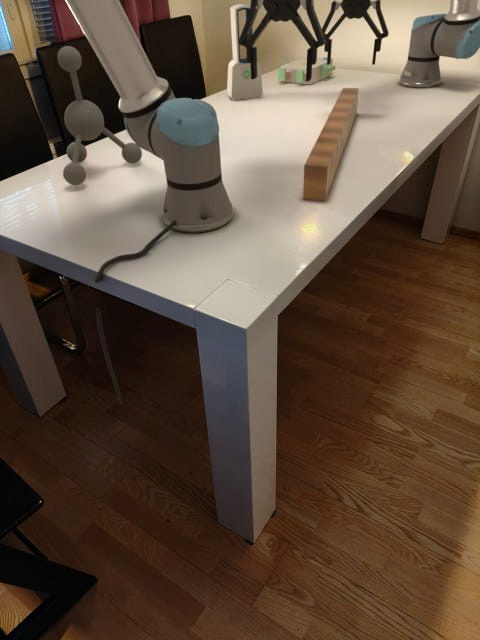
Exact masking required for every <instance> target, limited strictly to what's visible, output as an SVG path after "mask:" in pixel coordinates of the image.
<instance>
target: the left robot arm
mask: <svg viewBox="0 0 480 640" xmlns="http://www.w3.org/2000/svg"><path fill="white" fill-rule="evenodd" d="M64 1H65V2H66V4H67V6H68V8H69V10H70V11H71V13H72V15H73V16H74V18H75V20H76V22H77V23H78V25H79V27H80V29H81V31H82V33H83V34H84V35H85V38H86V39H87V41H88V42H89V44H90V46H91V48H92V50H93V52H94V54H95V55H96V57H97V58H98V61H99V62H100V64H101V66H102V68H103V69H104V71H105V72H106V74H107V76H108V78H109V80H110V81H111V82H112V85H113V86H114V88H115V90H116V92H117V93H118V95H119V101H118V109H119V111H120V113H121V114H122V116H123V121H124V126H125V129H126V133H127V134H128V136H129V138H130V139H131V141H133V143H135V144H137V145H138V146H139V147H140V148H141V150H144V151H146V152H148V153H149V154H151V155H154V156H155V157H157V158H159V159H160V160H162V161H163V168H164V173H165V180H166V190H165V191H166V192H165V196H164V203H163V207H162V218H163V222H164V224H165V228H164V229H163V230H161V231H160V232H159V233H158V234H157V235H156V236H155V237H153V238H152V239H151V240H150V241H149V242H148V243H147V244H146V245H145V247H144V248H143V249H142V250H140V251H138V252H135V253H129V254H121V255H118V256H115V257H113V258H111V259H108V260H107V261H105V262H104V263H103V264H101V266H100V268H99V270H98V272H97V274H96V276H95V279H94V283H95V284H99V283H100V282H101V280H102V277H103V274H104V272H105V271H106V269H107V268H108V267H109V266H111V265H113V264H115V263H117V262H119V261H123V260H131V259H136V258H140V257H142V256H144V255H145V254H147V252H148V251H149V250H150V248H152V246H153V245H155V244H156V243H157V242H158V241H159V240H160V239H162V237H163V236H165V235H166V234H167V233H168V232H169V231H170V230H173V231H177V232H180V233H190V234H191V233H192V234H193V233H194V234H195V233H196V234H197V233H205V232H206V233H207V232H210V231H215V230H216V229H220V228H222V227H224V226H226V225H227V224H228V223H230V221H231V220H232V218H233V216H234V212H233V211H234V210H233V205H232V201H231V200H230V197H229V195H228V192H227V190H226V187H225V184H224V182H223V175H222V174H223V173H222V161H221V159H222V158H221V147H220V146H221V145H220V126H219V120H218V115H217V111H216V109H215V108H214V106H213V105H212V104H210V103H209V102H207V101H204V100H202V99H198V98H195V99H192V98H190V97H178V98H176V96H175V94H174V92H173V90H172V88H171V86H170V84H169V82H168V80H167V79H165V78H162V77H159V76H158V75H157V74H156V71H155V70H154V68H153V65H152V64H151V62H150V60H149V58H148V56H147V54H146V52H145V50H144V48H143V46H142V44H141V42H140V40H139V37H138V36H137V33H136V32H135V29H134V28H133V26H132V24H131V22H130V19H129V17H128V16H127V14H126V12H125V10H124V7H123V6H122V3H121V1H120V0H64ZM250 6H251V7H250V12H249V15H248V17H247V20H246V19H245V23H244V26H243V28H242V30H241V34H240V35H239V41H238V43H239V45H240V46H243V47H245V49H246V51H245V52H246V58H247V63H251V79H255V78H256V77H257V62H258V48H257V46H255V47H253V46H254V44H256V42H257V41H258V39H259V38H260V37H261V35H262V34H263V32H264V31H265V29H266V28H267V27H268V25H269V24H270V23H271V21H273V22H275V23H277V22H283V23H284V22H285V23H287V22H290V21H291V22H292V24H294V26H295V27H296V28H297V30H298V31H299V33H300V34H301V36H302V37H303V39H304V40H305V42H306V43H307V45H308V47H309V48H307V50H306V58H307V67H306V81H310V80H311V79H312V65H315V64H316V62H317V58H318V48H320V47H324V45H325V43H326V39H325V37H324V34H323V31H322V25H321V24H320V21H319V18H318V15H317V13H316V10H315V3H314V0H250ZM262 7H263V8H264V10H265V11H266V13H265V15H264V16H263V18H262V20H261V22H260V23H259V24H258V26H257V27H256V29H254V33H253V34H252V36H251V37H250V39H249V40H247V39H248V36H249V33H250V31H251V28H252V26H253V23H254V24H255V20H256V18H257V16H258V12H259V11H260V10H261V9H262ZM300 7H302V8H303V9H304V10H305V11H306V14H307V17H308V20H309V22H310V25H311V28H312V30H313V33H314V35H313V34H312V32H311V31H310V30H309V28H308V26H307V25H306V23H305V22H304V20H303V19H302V17H301V15H300V14H299V12H298V10H299V8H300ZM314 36H315V37H314ZM94 308H95V316H96V317H95V318H96V324H97V331H98V336H99V340H100V344H101V348H102V353H103V355H104V359H105V362H106V365H107V368H108V372H109V374H110V378H111V380H112V381H111V382H112V383H113V386H114V391H115V395H116V399H117V401H118V404H119V405H120V406H122V405H123V404H124V401H123V397H122V393H121V390H120V389H121V388H120V386H119V383H118V380H117V376H116V373H115V370H114V367H113V364H112V360H111V357H110V354H109V350H108V347H107V342H106V337H105V332H104V327H103V321H102V313H101V308H100V307H97V306H95V307H94Z"/></svg>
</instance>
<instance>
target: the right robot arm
mask: <svg viewBox="0 0 480 640" xmlns="http://www.w3.org/2000/svg"><path fill="white" fill-rule="evenodd" d="M381 2H382V1H381V0H342V1H338V0H333V1H332V2H331V5H330V11H329V12H328V14H327V17H326V19H325V21H324V24H323V25H322V26H321V29H322V31H323V34H324V37H325V39H326V43H325V44H324V45H323V47H324V48H323V50H324V52H325V53H327V57H326V58H327V64H328V65H329V64H330V63H331V59H332V46H333V38H331V37H332V36H333V34H334V33H335V32H336V31H337V29H338V28H339V26H340V25H341V24H342V23H343V22H344V20H345V19H346V18H347V19H348V20H353V19H356V20H359V19H362V18H363V19H364V21H365V22H366V24H367V25H368V26H369V28H370V29H371V31H372V32H373V34H374V36H375V37H376V38H375V39H374V41H373V42H374V43H373V52H372V63H371V66H372V65H373V66H374V65H376V60H377V53H380V51H381V49H382V42H383V39H384V38H387V37H389V34H390V33H389V30H388V26H387V23H386V20H385V17H384V14H383V11H382V7H381V4H382V3H381ZM478 2H479V0H450V4H449V11H448V12H447V13H437V14H429V15H421V16H418V17H416V18H415V19H414V20H413V22H412V27H411V30H410V37H409V39H410V40H409V47H408V54H407V60H406V63H405V65H404V68H403V70H402V72H401V75H400V77H399V84H400V85H401V86H404V87H409V88H434V87H437V86H439V85H440V84H441V80H442V76H441V69H440V68H441V67H440V57H445V58H450V59H451V58H452V59H455V60H467V59H471V58H472V57H474V55H476V53H477V52H478V51H479V49H480V10H479V8H478ZM370 7H372V9H373V10H375V12H376V16H377V18H378V22H379V25H380V27H381V30H382V31H380V29H379V28H378V26H377V25H376V22H374V20H373V19H372V17H371V16H370V14H369V12H368V10H369V9H370ZM339 8H341V9H342V12H343V13H342V14H341V16H340V17H339V18H338V19H337V20H336V22H335V23H334V25H333V26H332V27H331V28H330V30H329V31H328V32H327V30H328V27H329V26H330V23H331V22H332V19H333V17H334V15H335V13H336V11H338V9H339ZM326 32H327V33H326ZM381 32H382V33H381Z"/></svg>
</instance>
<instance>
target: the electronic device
mask: <svg viewBox="0 0 480 640" xmlns="http://www.w3.org/2000/svg"><path fill="white" fill-rule="evenodd" d="M250 7H251V5H248V4H243V3H237V4H234V5H232V6H231V7H229V10H230V11H229V13H230V29H231V48H232V49H231V50H232V59H231V60H230V62H229V63H228V64H227V65H228V66H227V80H226V81H227V84H226V92H227V95H228V96H229V97H230V98H232V100H234V101H240V100H247V99H249V100H250V99H255V98H256V99H257V98H261V97H262V95H263V94H264V91H263V82H262V81H263V80H262V73H261V65H260V63H259V61H257V77H256V78H255V79H251V63H247V57H244V58H241V45H239V43H238V41H239V39H240V23H239V22H240V21H239V19H240V18H239V12H240V11H243V10H245V21H246V20H247V17H248V15H249V12H250ZM254 32H255V22H254V23H253V26H252V28H251V31H250V33H249V36H248V39H247V40H249V39H250V37H251V36H252V34H253V33H254ZM255 44H256V43H255ZM255 44H254V46H253V47H256V46H255Z"/></svg>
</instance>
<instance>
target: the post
mask: <svg viewBox="0 0 480 640" xmlns="http://www.w3.org/2000/svg"><path fill="white" fill-rule="evenodd" d="M358 99H359V87H343V88H342V89H341V91H340V93H339V95H338V97H337V99H336V101H335V103H334V104H333V107H332V109H331V111H330V113H329V114H328V116H327V119H326V121H325V122H324V125H323V127H322V129H321V130H320V133H319V135H318V137H317V139H316V141H315V143H314V145H313V147H312V149H311V151H310V153H309V155H308V156H307V159H306V161H305V163H304V164H303V192H302V200H308V201H319V202H320V201H321V202H325V201H327V198H328V195H329V192H330V189H331V186H332V184H333V181H334V179H335V175H336V172H337V169H338V166H339V164H340V161H341V159H342V155H343V152H344V150H345V147H346V144H347V141H348V138H349V136H350V133H351V131H352V127H353V125H354V122H355V119H356V117H357V112H358V110H357V109H358V102H359V101H358Z"/></svg>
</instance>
